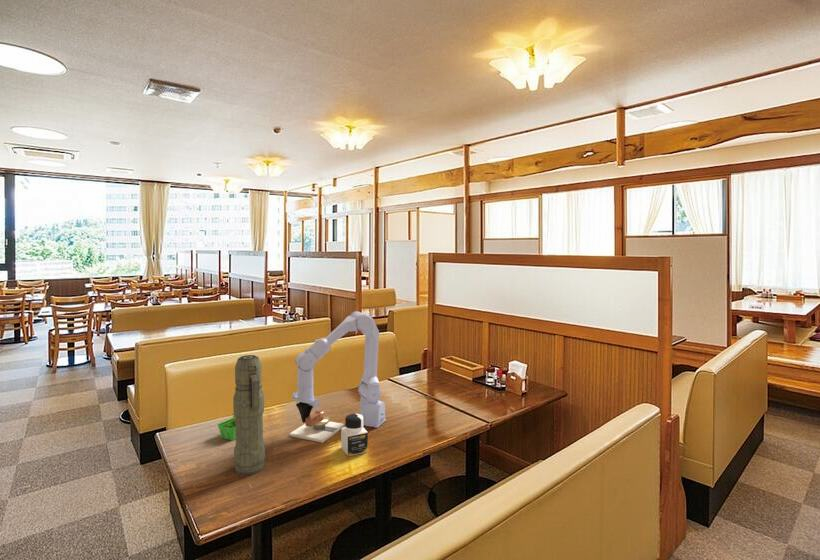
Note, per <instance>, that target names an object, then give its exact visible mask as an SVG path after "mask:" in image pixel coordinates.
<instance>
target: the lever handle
mask: <svg viewBox="0 0 820 560" xmlns="http://www.w3.org/2000/svg"><path fill="white" fill-rule="evenodd" d="M329 421H330V417H329V416H327V415H324V410H321V409H320V410H315V412H313V413H312V414H310V416H308V417H307V418H306V422H305V423H306V426H308V427H312V426H321V425H325V424H327V423H329ZM330 422H331V421H330Z"/></svg>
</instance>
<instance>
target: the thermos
mask: <svg viewBox="0 0 820 560" xmlns="http://www.w3.org/2000/svg"><path fill="white" fill-rule="evenodd" d="M262 371H263V370H262V363H261V360H260V358H259V356H256V355H253V354H247V355H241V356H240V357H237V360H236V363H235V366H234V383H235V389H234V390H235V391H234V394H233V399H232V403H233V408H232V409H233V413H234V416H235V425H236V439H235V446H234V449H233V462H234V471H235V473H236V474H237V473H238V475H240V476H251V475H253V474H254V473H255V474H257V473H260V472H261V471H262V470H263V469H264V468H265V466H266V465H265V459H266V445H265V442H264V426H263V425H264V423H263V422H264V421H263V420H264V417H263V415H264V411H265V393H264V391H263V388H262V386H263V385H262V381H263V379H262V375H263V373H262Z"/></svg>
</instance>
